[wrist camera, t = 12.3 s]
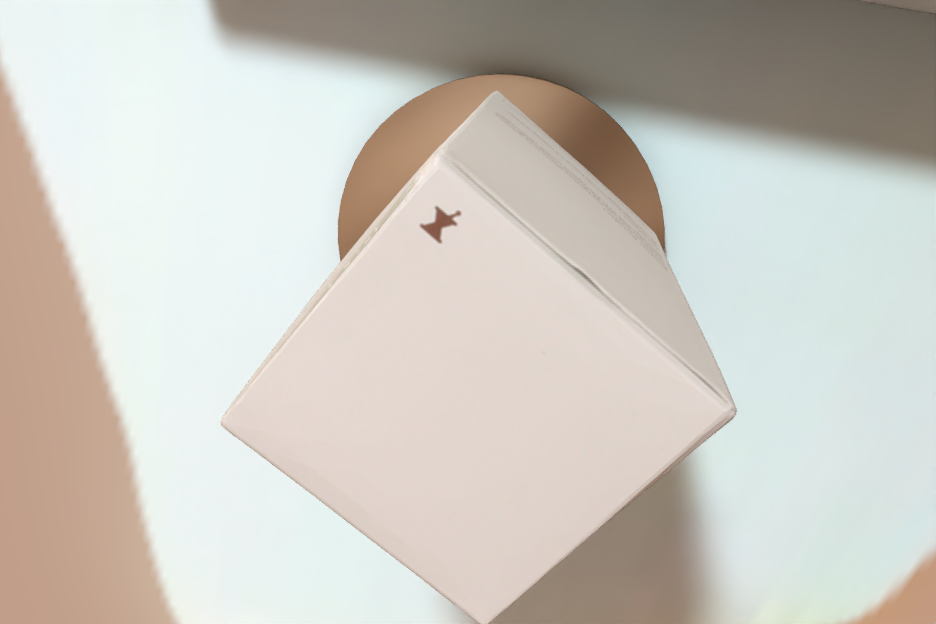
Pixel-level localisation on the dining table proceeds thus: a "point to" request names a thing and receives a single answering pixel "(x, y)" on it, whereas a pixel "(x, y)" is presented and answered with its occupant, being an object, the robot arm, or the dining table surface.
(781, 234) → the dining table surface
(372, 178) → the coaster
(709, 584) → the dining table surface
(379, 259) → the supplement box
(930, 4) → the low wall
